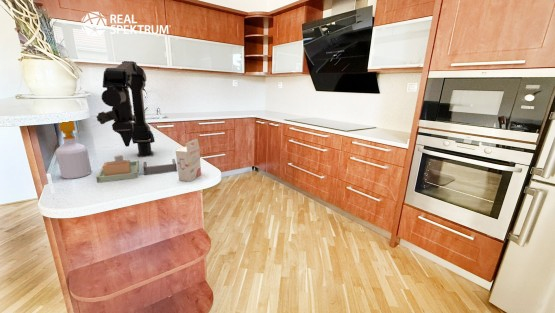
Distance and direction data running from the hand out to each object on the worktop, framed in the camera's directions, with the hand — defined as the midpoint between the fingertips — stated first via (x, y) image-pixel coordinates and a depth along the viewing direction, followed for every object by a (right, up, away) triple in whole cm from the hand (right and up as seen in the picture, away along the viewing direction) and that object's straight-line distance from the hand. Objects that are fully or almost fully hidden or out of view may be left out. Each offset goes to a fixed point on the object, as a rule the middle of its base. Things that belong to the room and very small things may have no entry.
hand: (128, 143), depth 97 cm
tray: (-3, -12, 0) cm, 12 cm away
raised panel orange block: (-3, -12, -1) cm, 12 cm away
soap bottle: (-18, -13, -3) cm, 22 cm away
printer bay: (+11, -11, +5) cm, 16 cm away
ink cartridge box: (+25, -13, -2) cm, 29 cm away
